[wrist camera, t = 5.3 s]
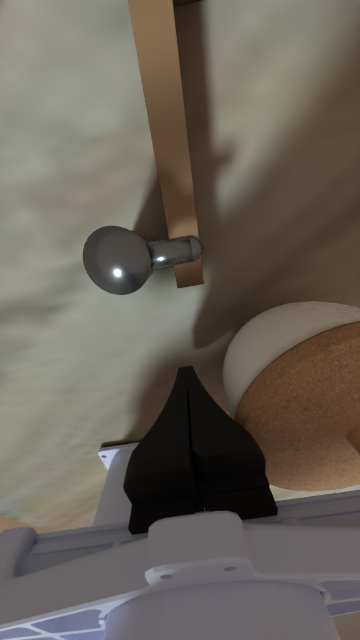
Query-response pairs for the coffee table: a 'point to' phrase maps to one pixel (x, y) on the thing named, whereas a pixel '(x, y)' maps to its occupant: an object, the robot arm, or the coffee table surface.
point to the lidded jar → (300, 392)
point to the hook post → (133, 257)
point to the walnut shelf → (167, 120)
